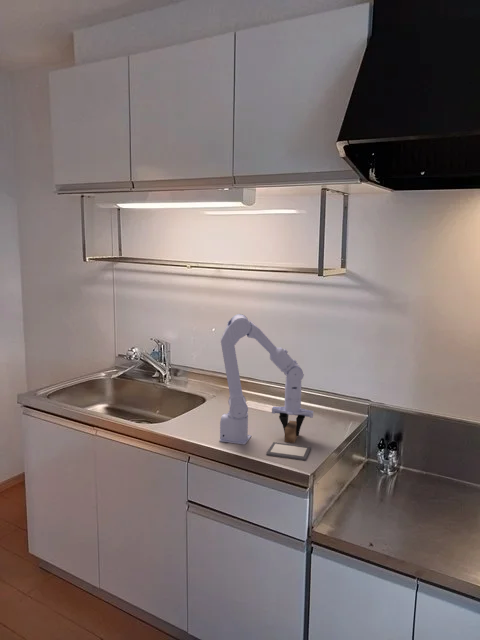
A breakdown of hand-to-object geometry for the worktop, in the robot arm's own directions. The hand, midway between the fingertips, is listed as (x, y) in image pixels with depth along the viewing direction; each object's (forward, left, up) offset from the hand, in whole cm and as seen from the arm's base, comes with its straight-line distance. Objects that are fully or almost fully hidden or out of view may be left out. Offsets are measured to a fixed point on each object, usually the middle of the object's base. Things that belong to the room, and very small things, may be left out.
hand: (291, 434), depth 183 cm
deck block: (0, 0, -1) cm, 1 cm away
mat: (+1, -12, -1) cm, 12 cm away
